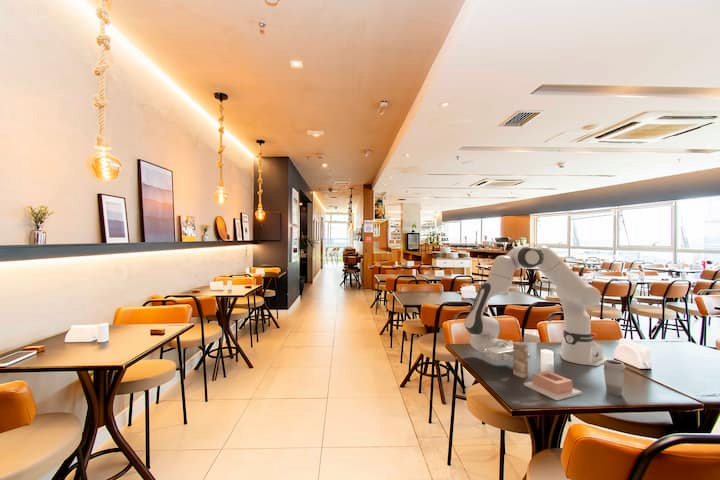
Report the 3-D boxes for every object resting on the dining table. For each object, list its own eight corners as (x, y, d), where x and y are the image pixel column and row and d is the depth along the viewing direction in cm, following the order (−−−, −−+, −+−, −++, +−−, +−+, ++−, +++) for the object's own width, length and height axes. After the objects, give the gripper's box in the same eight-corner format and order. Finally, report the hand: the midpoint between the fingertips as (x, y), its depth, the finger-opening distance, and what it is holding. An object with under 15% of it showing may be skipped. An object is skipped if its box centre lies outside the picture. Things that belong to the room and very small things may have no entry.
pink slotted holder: (548, 380, 137) (548, 368, 137) (581, 394, 124) (581, 381, 124) (524, 385, 132) (524, 373, 132) (556, 400, 119) (556, 386, 119)
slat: (518, 373, 145) (518, 341, 145) (527, 377, 140) (527, 345, 140) (513, 374, 143) (513, 342, 144) (522, 378, 139) (522, 345, 139)
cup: (623, 391, 126) (623, 361, 127) (627, 398, 121) (627, 366, 121) (601, 387, 130) (601, 357, 130) (603, 394, 124) (603, 362, 124)
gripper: (480, 344, 150) (503, 353, 137) (512, 339, 158) (537, 348, 145) (480, 358, 150) (503, 368, 137) (512, 352, 158) (538, 362, 145)
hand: (521, 357), depth 141 cm, fingers open, 8 cm apart
